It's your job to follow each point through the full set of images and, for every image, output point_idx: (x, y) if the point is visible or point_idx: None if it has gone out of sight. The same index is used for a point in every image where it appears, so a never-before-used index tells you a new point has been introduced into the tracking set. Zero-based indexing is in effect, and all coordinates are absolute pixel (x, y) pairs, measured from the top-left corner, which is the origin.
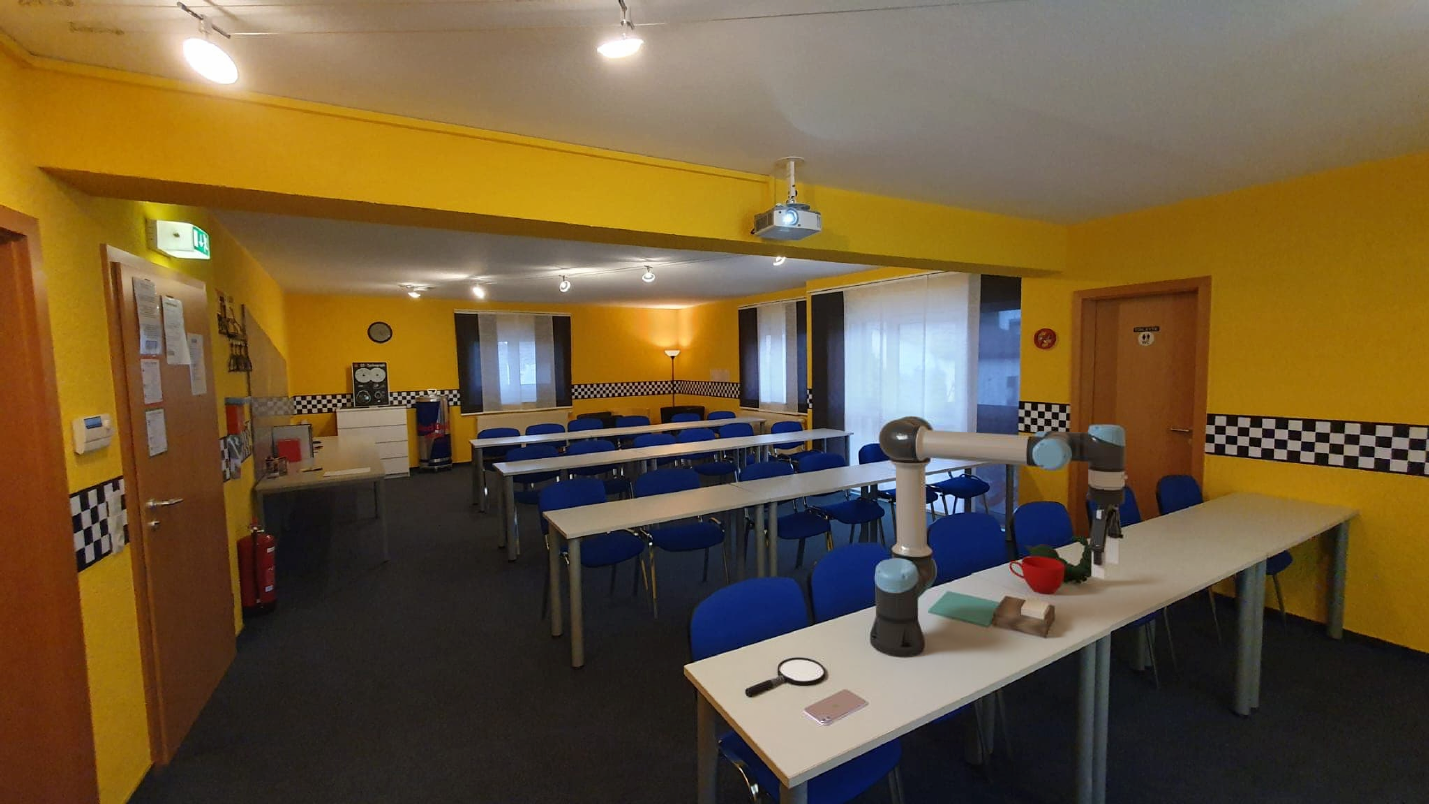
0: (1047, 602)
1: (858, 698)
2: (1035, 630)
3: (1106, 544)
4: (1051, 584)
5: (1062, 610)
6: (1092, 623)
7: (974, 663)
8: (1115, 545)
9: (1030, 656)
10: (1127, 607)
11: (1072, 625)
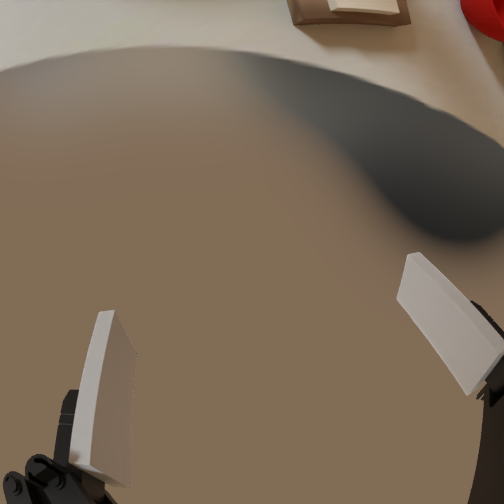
0: (398, 9)
1: None
2: (292, 5)
3: (471, 321)
4: (478, 21)
5: (431, 37)
6: (416, 85)
7: (68, 6)
8: (453, 358)
9: (180, 36)
10: (484, 125)
11: (388, 56)
